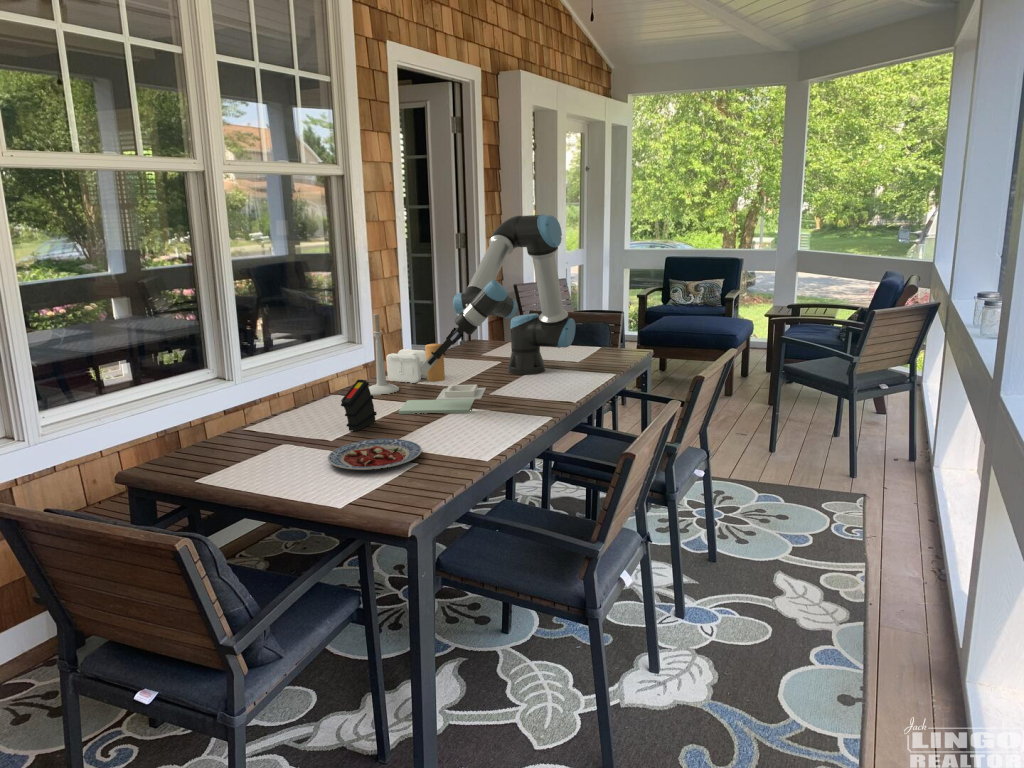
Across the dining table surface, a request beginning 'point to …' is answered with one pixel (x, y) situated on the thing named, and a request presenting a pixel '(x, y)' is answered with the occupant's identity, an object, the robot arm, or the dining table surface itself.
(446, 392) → the base
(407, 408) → the sage board
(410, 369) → the cable organizer
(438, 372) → the orange plug
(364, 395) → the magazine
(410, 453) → the ceramic plate
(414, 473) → the dining table surface
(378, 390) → the candlestick
